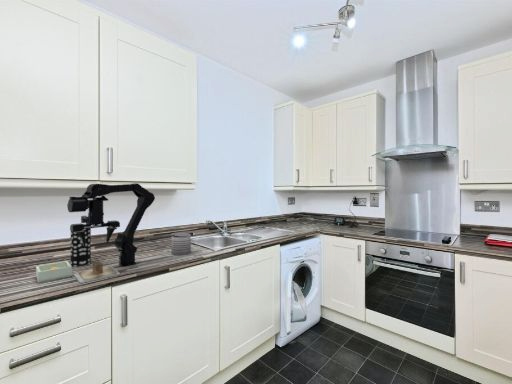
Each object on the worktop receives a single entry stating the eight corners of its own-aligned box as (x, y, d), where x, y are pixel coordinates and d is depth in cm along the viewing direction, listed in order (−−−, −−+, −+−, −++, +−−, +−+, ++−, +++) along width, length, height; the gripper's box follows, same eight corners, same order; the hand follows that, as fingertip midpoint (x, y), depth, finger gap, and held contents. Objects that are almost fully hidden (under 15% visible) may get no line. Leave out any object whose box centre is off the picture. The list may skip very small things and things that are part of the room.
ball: (57, 273, 109) (57, 265, 109) (59, 274, 107) (58, 266, 107) (48, 275, 107) (48, 267, 107) (49, 276, 105) (49, 268, 105)
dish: (67, 270, 115) (67, 260, 115) (71, 276, 107) (71, 266, 107) (35, 276, 107) (35, 266, 107) (38, 283, 99) (38, 272, 99)
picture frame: (111, 267, 119) (111, 266, 119) (120, 274, 110) (120, 273, 110) (74, 275, 108) (74, 274, 108) (80, 283, 99) (80, 282, 99)
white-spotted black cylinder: (94, 261, 129) (94, 223, 129) (83, 266, 121) (83, 226, 120) (78, 261, 129) (78, 223, 128) (66, 266, 120) (66, 226, 120)
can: (176, 250, 153) (176, 231, 153) (194, 251, 152) (194, 232, 152) (167, 255, 142) (167, 234, 142) (185, 256, 140) (186, 235, 140)
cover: (108, 267, 118) (108, 257, 118) (116, 273, 109) (116, 263, 109) (78, 273, 109) (78, 263, 109) (84, 280, 101) (84, 269, 101)
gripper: (112, 208, 126) (112, 238, 126) (67, 210, 112) (67, 244, 112) (120, 209, 118) (120, 242, 118) (72, 212, 104) (73, 249, 105)
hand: (96, 244), depth 114 cm, fingers open, 9 cm apart
